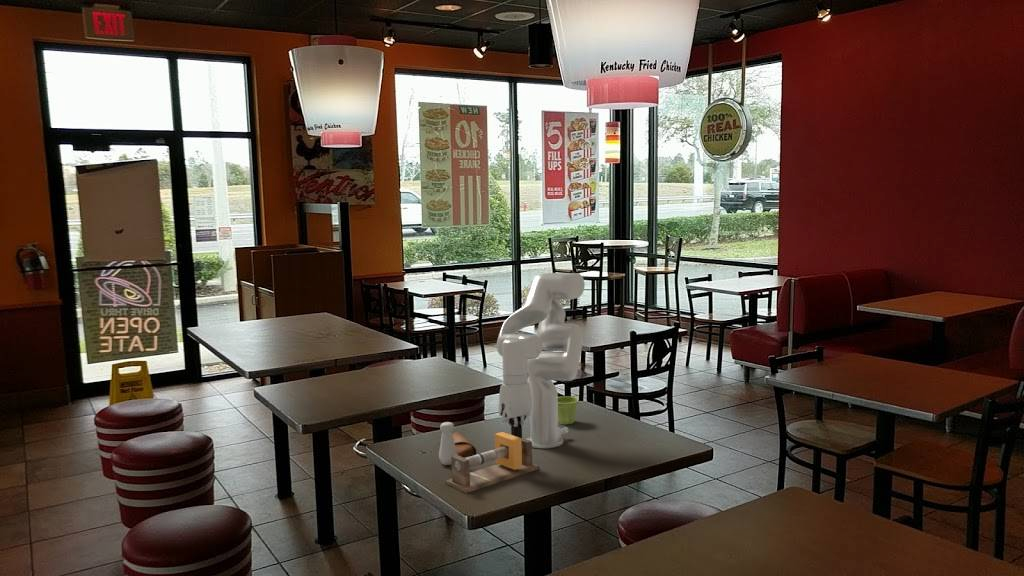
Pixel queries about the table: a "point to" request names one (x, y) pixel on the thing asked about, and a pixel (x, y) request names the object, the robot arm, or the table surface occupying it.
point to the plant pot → (566, 409)
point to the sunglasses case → (463, 445)
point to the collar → (514, 450)
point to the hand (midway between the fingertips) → (516, 437)
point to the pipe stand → (488, 468)
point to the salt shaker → (447, 443)
